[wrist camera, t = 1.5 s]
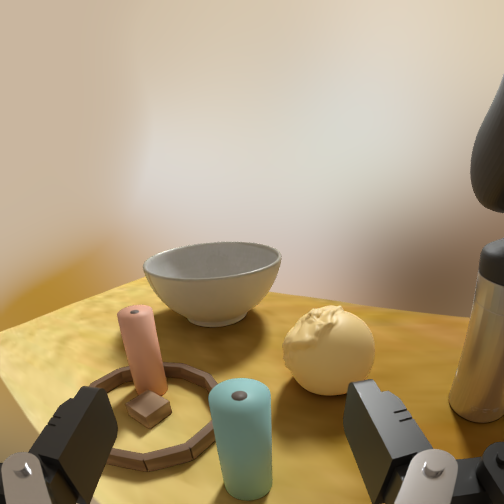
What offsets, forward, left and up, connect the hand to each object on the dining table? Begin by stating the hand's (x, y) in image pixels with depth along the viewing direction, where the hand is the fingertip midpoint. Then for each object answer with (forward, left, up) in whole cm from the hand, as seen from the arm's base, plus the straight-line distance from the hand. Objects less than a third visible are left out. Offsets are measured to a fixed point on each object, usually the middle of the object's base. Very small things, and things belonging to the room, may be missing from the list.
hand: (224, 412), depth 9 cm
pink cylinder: (-15, -26, -20) cm, 37 cm away
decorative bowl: (-40, -34, -21) cm, 57 cm away
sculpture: (-29, -6, -21) cm, 36 cm away
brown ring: (-11, -22, -20) cm, 32 cm away
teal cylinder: (-9, -6, -20) cm, 23 cm away
